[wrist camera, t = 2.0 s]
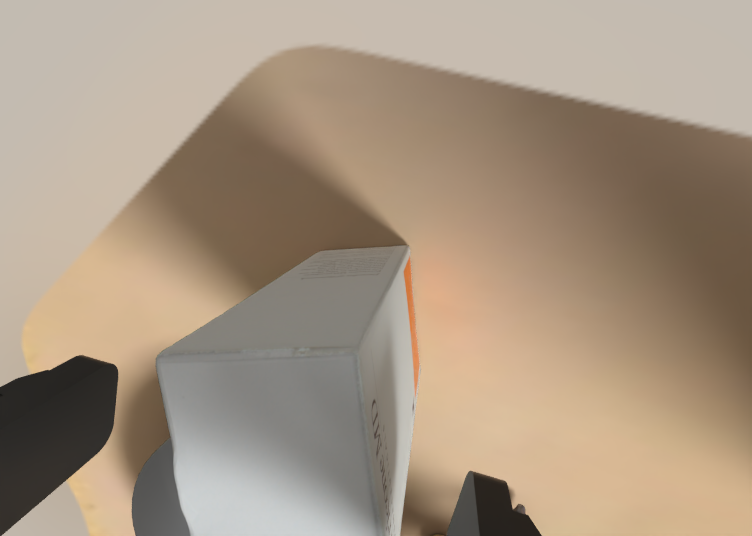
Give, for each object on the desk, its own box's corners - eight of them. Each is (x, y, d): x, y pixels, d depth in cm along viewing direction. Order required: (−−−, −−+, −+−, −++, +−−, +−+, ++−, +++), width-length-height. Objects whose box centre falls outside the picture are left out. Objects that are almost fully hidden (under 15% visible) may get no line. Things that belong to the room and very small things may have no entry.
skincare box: (424, 370, 21) (393, 633, 9) (333, 372, 21) (198, 619, 10) (412, 239, 19) (361, 349, 8) (317, 246, 20) (139, 357, 8)
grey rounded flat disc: (396, 429, 21) (388, 471, 19) (348, 604, 24) (334, 664, 21) (182, 366, 22) (143, 396, 20) (159, 540, 25) (122, 589, 22)
